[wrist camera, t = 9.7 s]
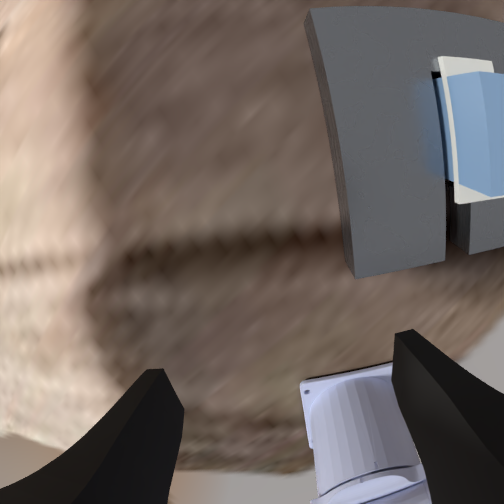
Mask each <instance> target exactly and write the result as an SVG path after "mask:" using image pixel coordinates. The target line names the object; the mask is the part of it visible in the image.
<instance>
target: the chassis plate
mask: <svg viewBox="0 0 504 504" xmlns="http://www.w3.org/2000/svg"><path fill="white" fill-rule="evenodd" d="M304 27H305V30H306V34H307V38H308V42H309V46H310V50H311V54H312V59H313V63H314V67H315V72H316V76H317V81H318V85H319V90H320V95H321V100H322V105H323V110H324V115H325V120H326V125H327V131H328V137H329V142H330V148H331V154H332V160H333V167H334V173H335V180H336V187H337V194H338V202H339V209H340V217H341V226H342V235H343V244H344V254H345V261H346V263H347V265H348V267H349V269H350V270H351V272H352V274H353V276H354V278H355V279H359V278H364V277H370V276H375V275H380V274H384V273H389V272H394V271H399V270H404V269H409V268H413V267H418V266H423V265H427V264H432V263H436V262H441V261H445V248H446V197H445V176H444V162H443V150H442V140H441V132H440V124H439V116H438V110H437V103H436V97H435V91H434V86H433V81H432V76H436V77H442V76H441V71H440V67H439V62H438V57H441V56H449V57H461V58H471V59H480V60H488V61H492V64H493V69H494V73H499V74H504V23H502V22H498V21H494V20H489V19H485V18H480V17H475V16H470V15H464V14H458V13H452V12H445V11H437V10H428V9H418V8H405V7H385V6H346V7H325V8H311V9H309V11H308V14H307V17H306V19H305V22H304ZM449 194H450V241H451V242H453V243H454V244H455V245H457V246H458V247H459V248H461V249H462V250H463V251H465V252H466V253H467V254H468V255H471V254H475V253H479V252H483V251H487V250H491V249H495V248H499V247H503V246H504V197H503V198H497V199H490V200H484V201H477V202H471V203H464V204H458V203H456V202H455V198H454V186H449Z"/></svg>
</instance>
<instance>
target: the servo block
mask: <svg viewBox="0 0 504 504" xmlns="http://www.w3.org/2000/svg"><path fill="white" fill-rule="evenodd" d="M438 62H439V67H440V71H441V76H442V77H441V78H436V79H432V81H433V86H434V91H435V97H436V103H437V110H438V116H439V124H440V132H441V140H442V150H443V162H444V176H445V179H447V180H450V181H452V182H454V198H455V202H456V203H458V204H464V203H471V202H477V201H484V200H490V199H497V198H503V197H504V74H499V73H494V69H493V64H492V61H488V60H480V59H471V58H461V57H449V56H441V57H438Z"/></svg>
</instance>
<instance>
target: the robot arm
mask: <svg viewBox="0 0 504 504" xmlns="http://www.w3.org/2000/svg"><path fill="white" fill-rule="evenodd" d="M305 390H308V391H305ZM300 391H301V397H302V403H303V409H304V415H305V421H306V428H307V434H308V440H309V447H310V448H312V449H313V450H314V460H315V470H316V479H317V489H318V498H317V499H313V500H311V501H310V504H504V394H503V393H501V392H499V391H497V390H495V389H494V388H492V387H491V386H489V385H487V384H486V383H484V382H483V381H481V380H480V379H478V378H476V377H475V376H474V375H472V374H471V373H469V372H468V371H467V370H465V369H464V368H462V367H461V366H460V365H458V364H457V363H456V362H454V361H453V360H452V359H450V358H449V357H448V356H447V355H445V354H444V353H443V352H441V351H440V350H439V349H438V348H436V347H435V346H434V345H433V344H431V343H430V342H429V341H428V340H426V339H425V338H424V337H423V336H421V335H420V334H419V333H418V332H416V331H415V330H414V329H411V330H407V331H403V332H399V333H395V340H394V354H393V362H392V363H388V364H384V365H379V366H375V367H371V368H366V369H362V370H357V371H352V372H348V373H343V374H337V375H332V376H327V377H321V378H315V379H309V380H304V381H302V382H301V383H300ZM183 420H184V408H183V406H182V404H181V402H180V400H179V398H178V397H177V395H176V393H175V391H174V389H173V387H172V385H171V383H170V381H169V379H168V377H167V375H166V373H165V371H164V369H147V370H146V371H145V372H144V373H143V374H142V375H141V376H140V377H139V378H138V379H137V380H136V381H135V382H134V384H133V385H132V386H131V387H130V388H129V389H128V390H127V391H126V392H125V394H124V395H123V396H122V397H121V398H120V399H119V400H118V401H117V402H116V403H115V405H114V406H113V407H112V408H111V409H110V410H109V411H108V412H107V413H106V414H105V415H104V416H103V417H102V418H101V419H100V420H99V421H98V422H97V423H96V424H95V425H94V426H93V427H92V428H91V429H90V430H89V431H88V432H87V433H86V434H85V435H84V436H83V437H82V438H81V439H80V440H79V441H77V442H76V443H75V444H74V445H73V446H71V447H70V448H69V449H68V450H67V451H65V452H64V453H63V454H62V455H60V456H59V457H57V458H56V459H55V460H53V461H51V462H50V463H48V464H47V465H45V466H44V467H42V468H41V469H40V470H38V471H36V472H35V473H33V474H31V475H29V476H27V477H25V478H23V479H21V480H19V481H17V482H15V483H13V484H11V485H9V486H6V487H3V488H1V489H0V504H167V502H168V496H169V490H170V486H171V481H172V477H173V473H174V468H175V464H176V460H177V456H178V451H179V447H180V443H181V438H182V430H183ZM412 439H413V440H412ZM413 442H414V443H413ZM414 444H415V445H414ZM415 447H416V448H415ZM416 449H417V451H416ZM417 452H418V454H419V457H420V459H421V462H422V463H420V460H419V457H418V454H417Z"/></svg>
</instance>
